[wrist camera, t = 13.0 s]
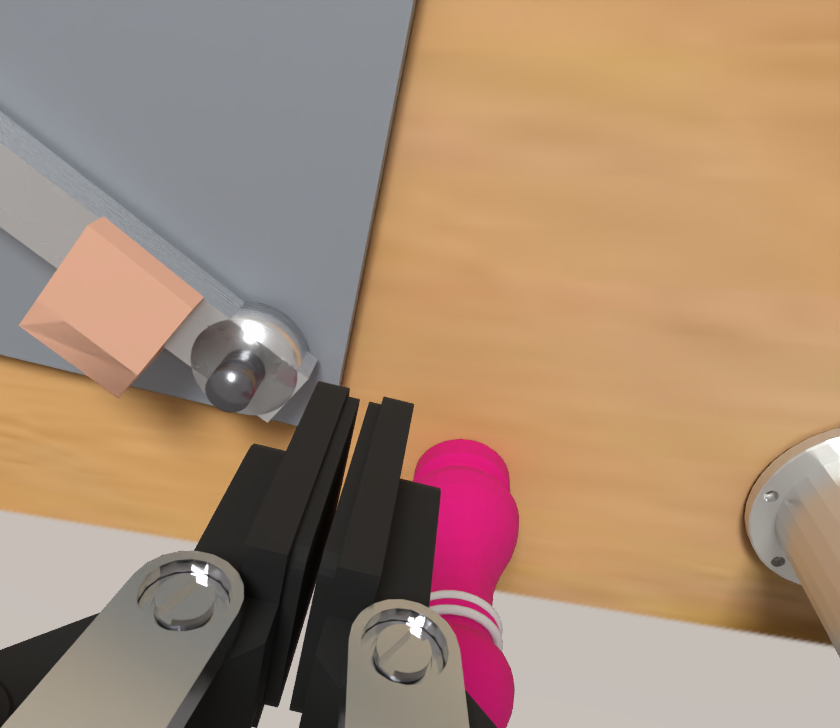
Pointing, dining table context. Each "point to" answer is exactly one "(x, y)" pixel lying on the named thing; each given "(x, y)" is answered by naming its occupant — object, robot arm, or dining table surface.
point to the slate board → (215, 148)
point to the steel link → (219, 309)
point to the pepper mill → (473, 562)
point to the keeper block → (110, 307)
